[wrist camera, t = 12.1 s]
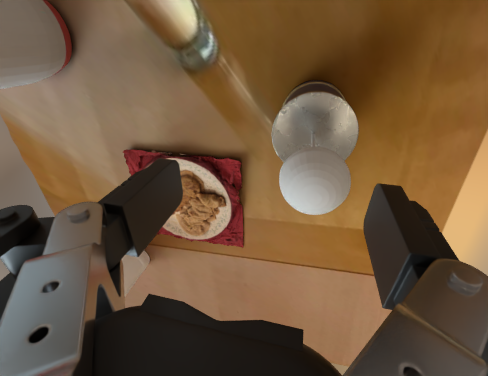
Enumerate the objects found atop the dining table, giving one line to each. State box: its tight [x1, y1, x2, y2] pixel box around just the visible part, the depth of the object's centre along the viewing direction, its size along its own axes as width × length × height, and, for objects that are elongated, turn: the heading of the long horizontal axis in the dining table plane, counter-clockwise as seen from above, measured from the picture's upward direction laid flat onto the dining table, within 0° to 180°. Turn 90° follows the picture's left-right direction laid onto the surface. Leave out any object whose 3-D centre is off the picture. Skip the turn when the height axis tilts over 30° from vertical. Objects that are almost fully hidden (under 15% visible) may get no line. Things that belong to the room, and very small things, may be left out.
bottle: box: [122, 251, 150, 296], centre depth 60 cm, size 8×8×30 cm
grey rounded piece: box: [272, 80, 359, 162], centre depth 37 cm, size 11×11×12 cm
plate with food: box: [123, 150, 243, 247], centre depth 56 cm, size 24×26×3 cm
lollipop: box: [279, 134, 351, 215], centre depth 25 cm, size 6×6×15 cm
